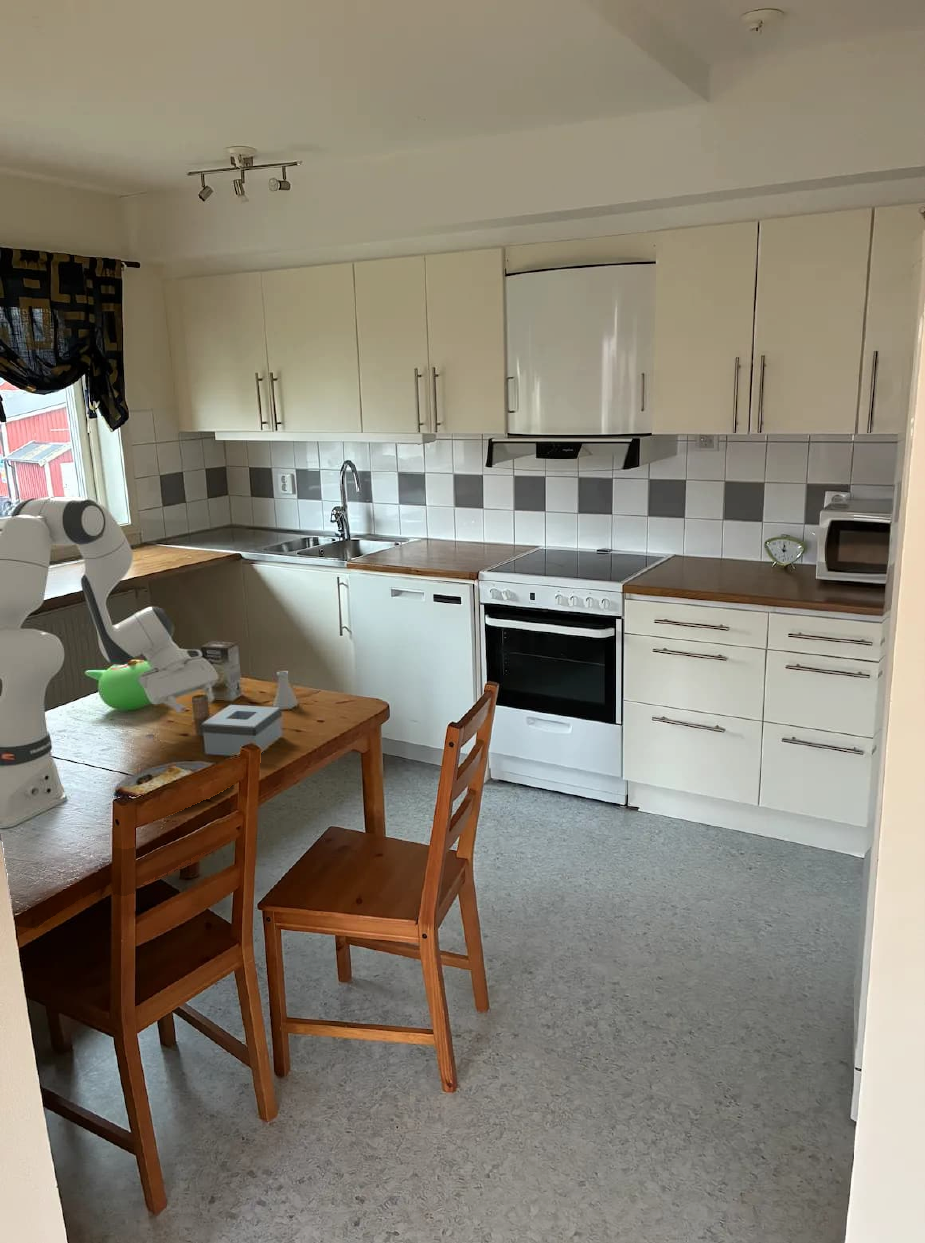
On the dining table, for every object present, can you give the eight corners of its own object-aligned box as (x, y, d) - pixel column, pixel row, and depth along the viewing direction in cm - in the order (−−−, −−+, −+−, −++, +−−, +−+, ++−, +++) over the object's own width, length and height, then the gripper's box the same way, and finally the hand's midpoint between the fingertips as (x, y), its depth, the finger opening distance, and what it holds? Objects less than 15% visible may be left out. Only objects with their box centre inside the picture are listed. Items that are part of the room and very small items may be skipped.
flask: (292, 711, 262) (290, 676, 260) (268, 710, 264) (265, 675, 261) (302, 702, 269) (299, 669, 267) (278, 701, 270) (275, 668, 268)
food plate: (168, 821, 196) (166, 805, 195) (92, 802, 207) (90, 787, 206) (250, 780, 217) (249, 766, 216) (178, 765, 228) (176, 751, 228)
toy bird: (126, 721, 258) (119, 670, 255) (86, 712, 267) (80, 662, 264) (177, 702, 273) (171, 653, 270) (138, 694, 282) (132, 647, 278)
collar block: (257, 757, 229) (254, 726, 227) (204, 754, 233) (200, 723, 231) (283, 736, 242) (281, 707, 240) (232, 733, 246) (229, 704, 244)
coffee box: (204, 699, 275) (198, 646, 271) (216, 692, 281) (210, 640, 277) (232, 701, 272) (226, 647, 268) (243, 694, 278) (238, 642, 274)
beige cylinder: (206, 736, 245) (202, 700, 242) (192, 735, 246) (188, 699, 243) (214, 731, 248) (210, 695, 246) (200, 730, 249) (196, 694, 247)
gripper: (139, 667, 240) (167, 710, 236) (204, 648, 256) (231, 688, 252) (131, 681, 244) (158, 724, 240) (196, 662, 259) (222, 701, 256)
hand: (196, 705), depth 246 cm, fingers open, 8 cm apart
